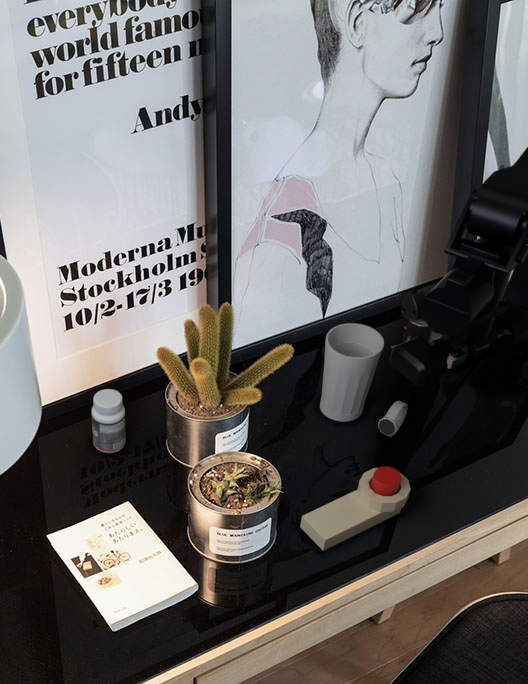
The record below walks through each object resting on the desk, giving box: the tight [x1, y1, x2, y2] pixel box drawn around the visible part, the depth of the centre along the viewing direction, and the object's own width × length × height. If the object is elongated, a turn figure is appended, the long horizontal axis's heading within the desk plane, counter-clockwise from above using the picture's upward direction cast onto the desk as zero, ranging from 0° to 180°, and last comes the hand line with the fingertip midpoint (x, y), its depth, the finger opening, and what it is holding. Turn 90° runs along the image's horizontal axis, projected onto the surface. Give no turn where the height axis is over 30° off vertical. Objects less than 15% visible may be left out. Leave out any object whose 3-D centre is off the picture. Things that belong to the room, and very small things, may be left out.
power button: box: [371, 466, 402, 496], centre depth 125 cm, size 4×4×2 cm
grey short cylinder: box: [377, 400, 409, 438], centre depth 135 cm, size 3×5×5 cm, turn 143°
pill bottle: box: [90, 388, 127, 454], centre depth 134 cm, size 5×5×8 cm
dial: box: [403, 319, 433, 343], centre depth 143 cm, size 4×4×5 cm
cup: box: [319, 322, 385, 422], centre depth 136 cm, size 8×8×12 cm
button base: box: [299, 467, 411, 552], centre depth 125 cm, size 15×6×4 cm, turn 121°
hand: (446, 395), depth 124 cm, fingers closed
